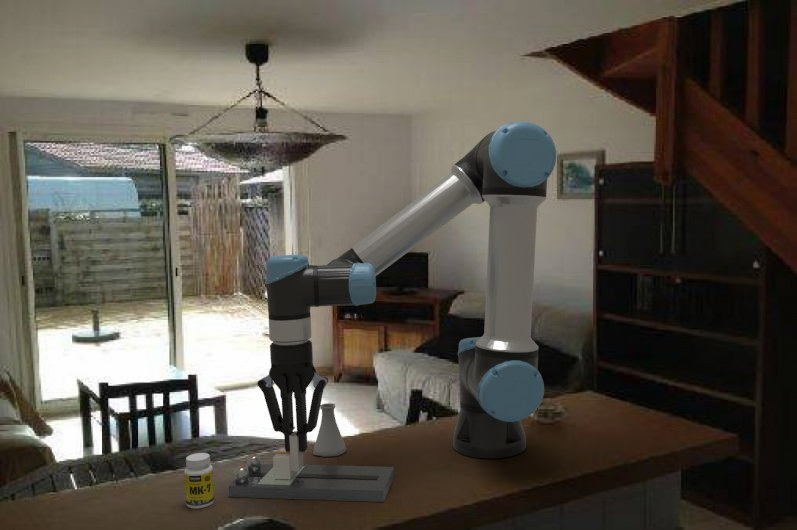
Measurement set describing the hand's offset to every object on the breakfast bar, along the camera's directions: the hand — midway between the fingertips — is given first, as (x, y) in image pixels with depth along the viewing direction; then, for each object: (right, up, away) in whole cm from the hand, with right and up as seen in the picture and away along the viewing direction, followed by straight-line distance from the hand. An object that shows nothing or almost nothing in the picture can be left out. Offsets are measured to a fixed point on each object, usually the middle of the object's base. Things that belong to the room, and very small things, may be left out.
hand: (297, 468), depth 125 cm
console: (+3, -3, 0) cm, 5 cm away
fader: (-2, -1, +1) cm, 3 cm away
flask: (+4, -2, +18) cm, 19 cm away
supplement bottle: (-16, -5, -6) cm, 18 cm away
